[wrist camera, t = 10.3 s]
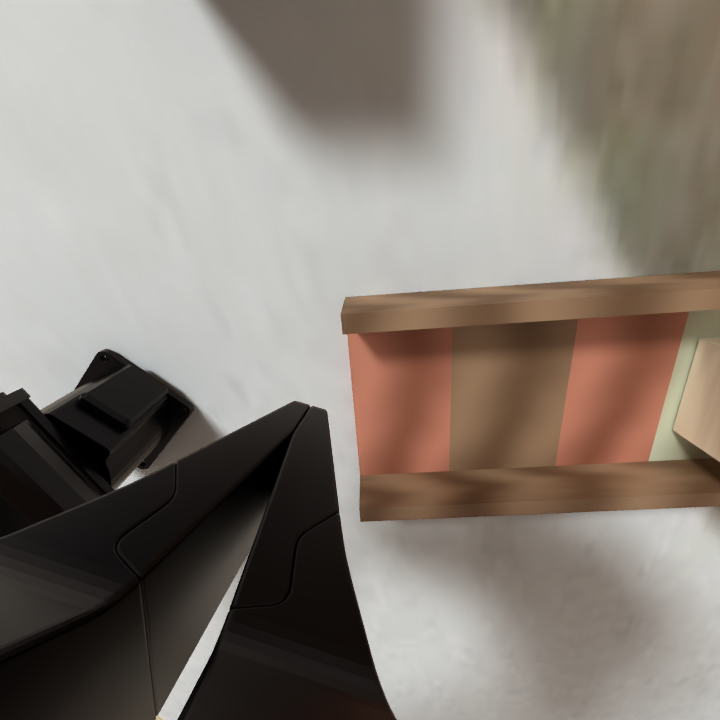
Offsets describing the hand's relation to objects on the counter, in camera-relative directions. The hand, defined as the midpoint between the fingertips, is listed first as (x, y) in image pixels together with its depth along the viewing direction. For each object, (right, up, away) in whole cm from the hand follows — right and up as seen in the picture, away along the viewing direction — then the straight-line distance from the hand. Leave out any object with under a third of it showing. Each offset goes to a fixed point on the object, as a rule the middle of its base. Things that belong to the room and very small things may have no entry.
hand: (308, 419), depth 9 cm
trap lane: (+15, 0, +14) cm, 20 cm away
